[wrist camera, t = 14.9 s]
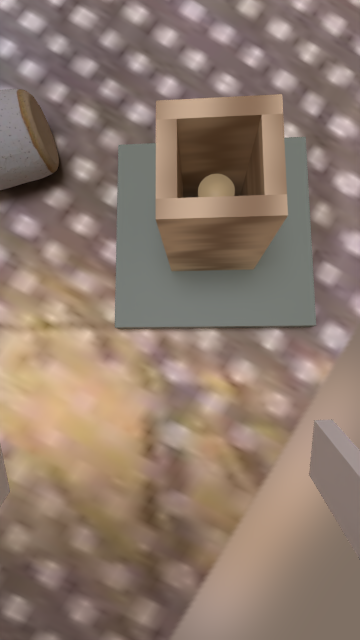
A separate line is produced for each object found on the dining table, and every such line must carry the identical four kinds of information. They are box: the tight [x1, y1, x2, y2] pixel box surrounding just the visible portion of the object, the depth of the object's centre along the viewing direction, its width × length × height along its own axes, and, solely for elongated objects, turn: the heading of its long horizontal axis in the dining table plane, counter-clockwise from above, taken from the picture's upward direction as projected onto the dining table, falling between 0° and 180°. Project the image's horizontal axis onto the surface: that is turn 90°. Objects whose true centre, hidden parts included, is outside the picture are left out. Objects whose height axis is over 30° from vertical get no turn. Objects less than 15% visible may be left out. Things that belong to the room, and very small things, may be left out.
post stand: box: [115, 137, 316, 329], centre depth 26 cm, size 18×18×8 cm
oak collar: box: [156, 94, 288, 271], centre depth 24 cm, size 8×8×11 cm
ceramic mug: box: [0, 89, 59, 190], centre depth 29 cm, size 11×8×8 cm
